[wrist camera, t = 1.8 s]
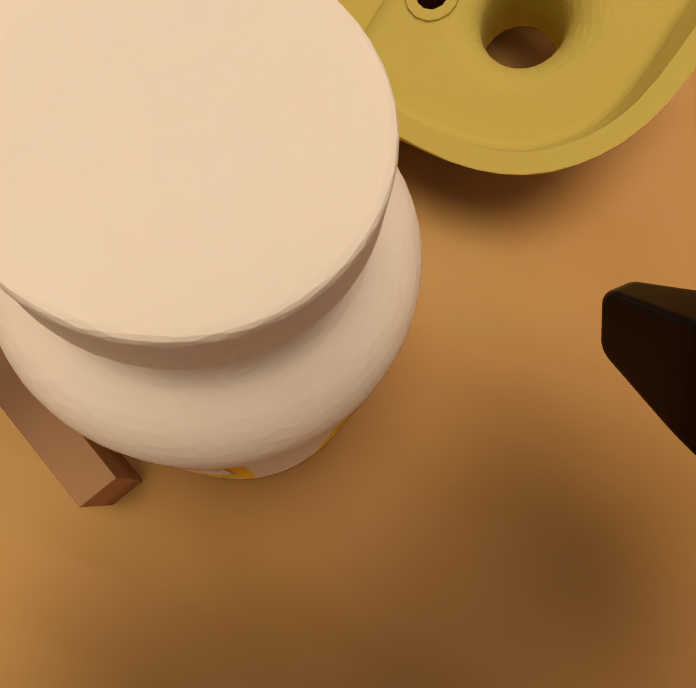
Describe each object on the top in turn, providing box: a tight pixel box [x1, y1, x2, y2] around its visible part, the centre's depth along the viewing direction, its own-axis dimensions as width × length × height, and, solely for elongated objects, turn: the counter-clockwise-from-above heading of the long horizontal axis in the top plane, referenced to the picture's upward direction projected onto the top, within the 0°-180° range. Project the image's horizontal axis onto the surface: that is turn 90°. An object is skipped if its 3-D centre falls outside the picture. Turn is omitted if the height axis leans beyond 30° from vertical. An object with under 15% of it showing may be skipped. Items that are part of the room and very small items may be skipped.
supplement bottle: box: [0, 0, 422, 479], centre depth 13 cm, size 7×7×13 cm
